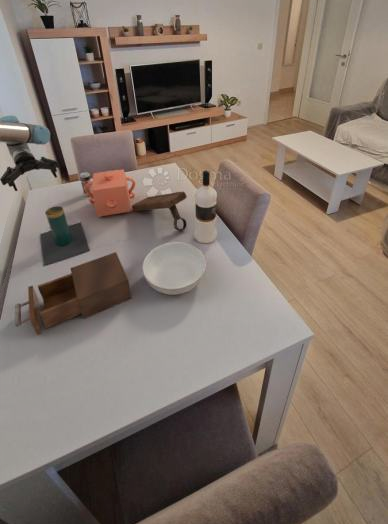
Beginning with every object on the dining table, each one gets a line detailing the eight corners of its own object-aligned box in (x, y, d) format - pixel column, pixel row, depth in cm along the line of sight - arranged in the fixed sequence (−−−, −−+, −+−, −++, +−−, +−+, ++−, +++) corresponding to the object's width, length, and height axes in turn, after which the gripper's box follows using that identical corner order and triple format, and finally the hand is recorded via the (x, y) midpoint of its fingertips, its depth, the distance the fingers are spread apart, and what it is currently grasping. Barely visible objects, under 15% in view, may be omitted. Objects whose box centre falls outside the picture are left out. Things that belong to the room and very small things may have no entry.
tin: (52, 245, 109) (41, 214, 101) (62, 235, 114) (53, 205, 106) (65, 248, 107) (55, 216, 100) (75, 237, 112) (66, 207, 105)
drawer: (19, 342, 75) (11, 327, 71) (19, 307, 84) (11, 292, 81) (87, 313, 82) (82, 298, 79) (80, 284, 91) (75, 269, 88)
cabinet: (83, 319, 81) (77, 300, 77) (76, 286, 92) (70, 268, 87) (131, 298, 88) (128, 279, 83) (119, 269, 98) (115, 251, 94)
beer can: (82, 194, 142) (77, 174, 136) (90, 191, 145) (85, 170, 139) (88, 197, 139) (83, 176, 133) (95, 193, 143) (91, 173, 137)
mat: (40, 234, 115) (40, 233, 115) (80, 223, 121) (80, 222, 121) (44, 266, 100) (43, 265, 99) (89, 250, 106) (89, 249, 106)
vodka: (194, 229, 117) (193, 165, 102) (215, 229, 117) (218, 165, 102) (193, 244, 109) (193, 177, 94) (217, 244, 109) (220, 177, 94)
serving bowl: (165, 248, 107) (164, 235, 103) (215, 267, 98) (215, 253, 95) (131, 288, 91) (129, 273, 88) (187, 314, 82) (186, 299, 79)
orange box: (141, 222, 121) (137, 187, 112) (87, 231, 116) (78, 196, 107) (136, 193, 142) (132, 162, 133) (90, 200, 137) (82, 168, 128)
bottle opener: (143, 235, 131) (181, 236, 108) (130, 205, 129) (166, 200, 106) (159, 224, 138) (198, 224, 115) (147, 196, 135) (185, 190, 112)
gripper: (58, 158, 123) (73, 177, 109) (-6, 178, 111) (1, 202, 96) (52, 143, 119) (67, 160, 104) (-15, 161, 107) (-9, 185, 92)
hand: (35, 181), depth 100 cm, fingers open, 13 cm apart
